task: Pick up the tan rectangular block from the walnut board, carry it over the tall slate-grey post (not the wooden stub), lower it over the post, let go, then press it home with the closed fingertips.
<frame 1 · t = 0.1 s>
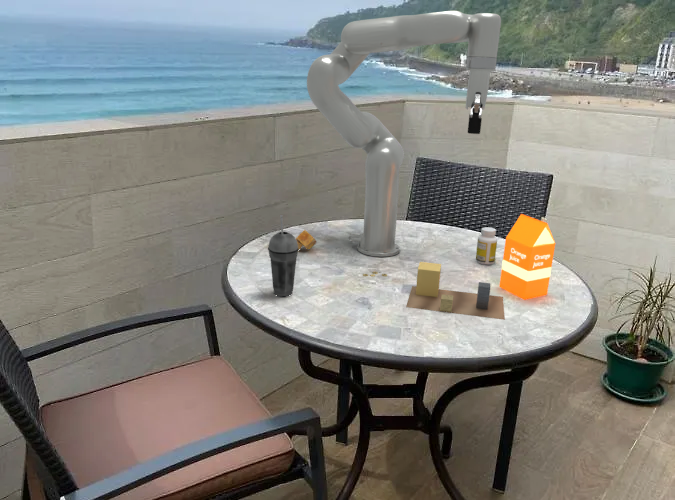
hand: (473, 131, 158), 37 cm above the table, tool pointing down, fingers open, 9 cm apart
orange juice: (522, 295, 147), on the table
wooden stub: (445, 309, 134), resting on board
beverage cup: (283, 294, 143), on the table
dice set: (375, 282, 153), on the table
board: (455, 306, 139), on the table
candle: (536, 270, 164), on the table
tan rectangular block: (427, 291, 144), point 1 cm above the table, touching board
supplement bottle: (484, 262, 169), on the table
post: (481, 306, 136), resting on board
pyrite: (304, 251, 173), on the table
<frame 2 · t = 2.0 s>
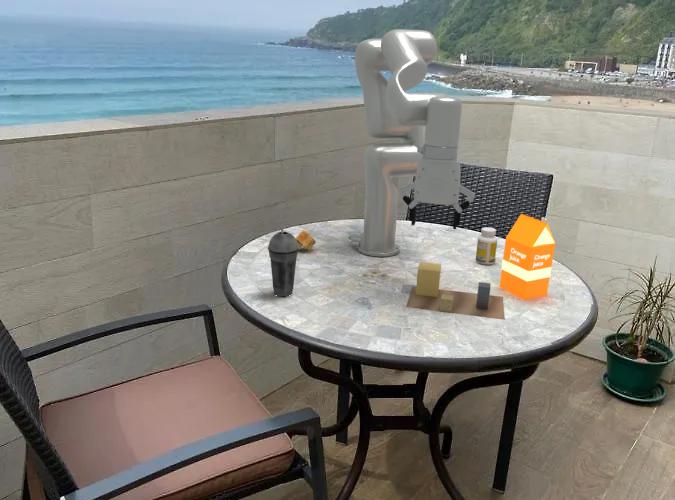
hand: (433, 225, 138), 18 cm above the table, tool pointing down, fingers open, 9 cm apart
nothing on the table moved.
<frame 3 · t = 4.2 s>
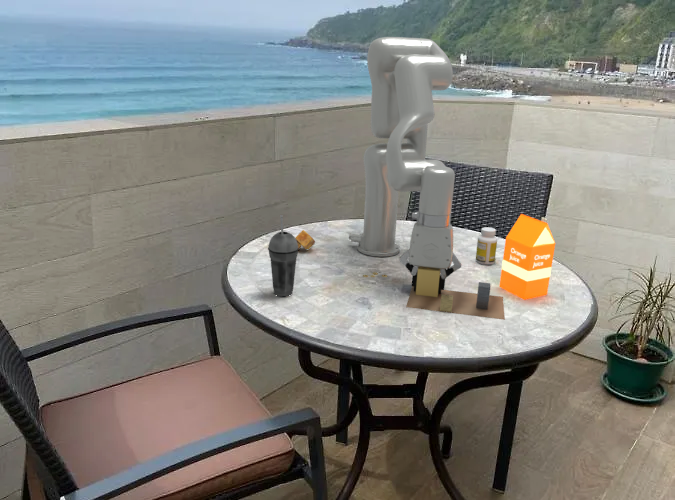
hand: (427, 289, 143), 2 cm above the table, tool pointing down, fingers closed on tan rectangular block, 5 cm apart
tan rectangular block: (427, 291, 144), point 1 cm above the table, touching board, gripper
everything else where it was.
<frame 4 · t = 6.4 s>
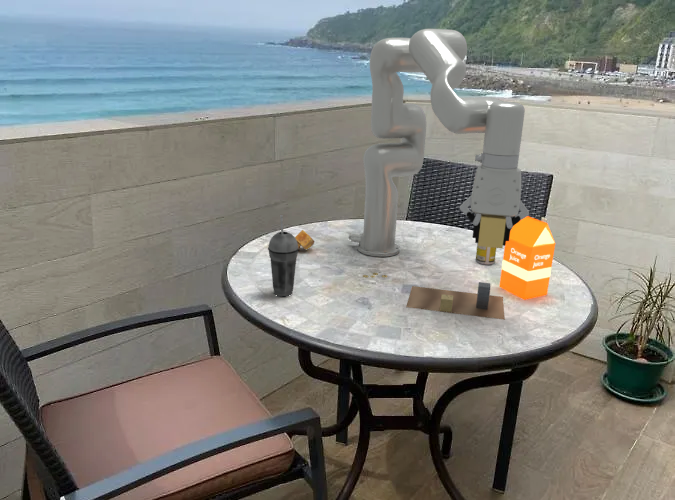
hand: (490, 241, 131), 17 cm above the table, tool pointing down, fingers closed on tan rectangular block, 5 cm apart
tan rectangular block: (489, 243, 131), point 17 cm above the table, touching gripper
everything else where it was.
when the fingers open (4 cm above the table, at t = 8.8 s): tan rectangular block drops 2 cm, resting on board.
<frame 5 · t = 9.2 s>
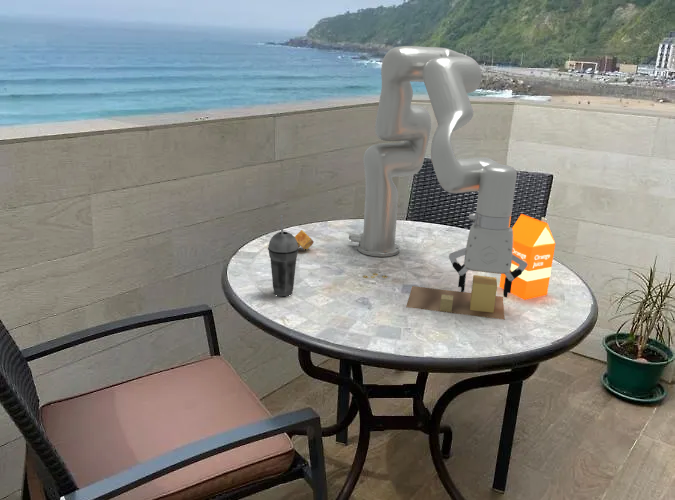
hand: (483, 292, 135), 5 cm above the table, tool pointing down, fingers open, 9 cm apart
tan rectangular block: (481, 306, 136), point 1 cm above the table, touching board
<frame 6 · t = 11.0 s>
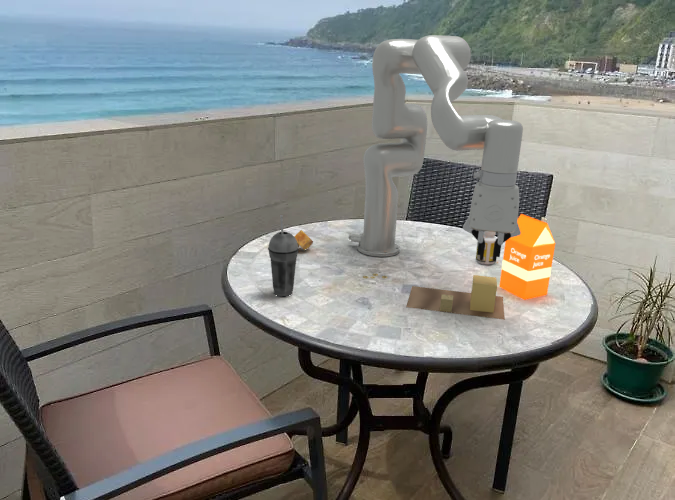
hand: (487, 258, 132), 13 cm above the table, tool pointing down, fingers closed
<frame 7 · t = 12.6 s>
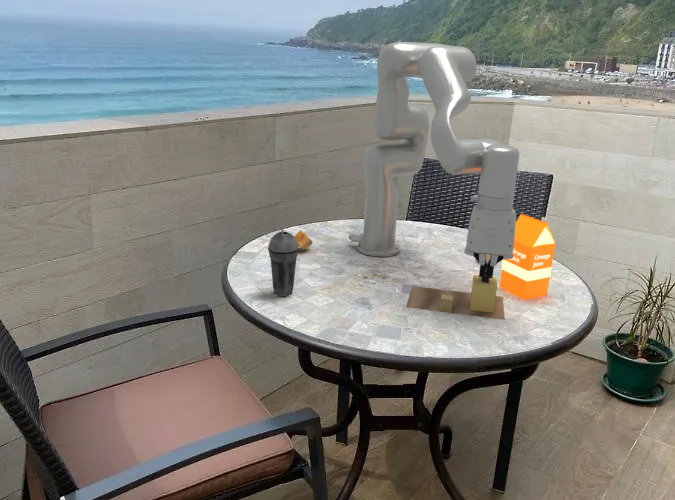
hand: (485, 280, 134), 8 cm above the table, tool pointing down, fingers closed
tan rectangular block: (481, 306, 136), point 1 cm above the table, touching board, gripper
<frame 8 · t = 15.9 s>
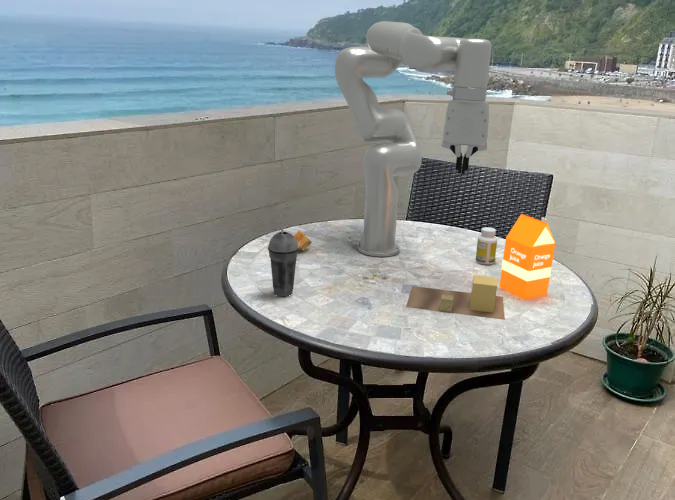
hand: (461, 172, 142), 29 cm above the table, tool pointing down, fingers closed
tan rectangular block: (481, 306, 136), point 1 cm above the table, touching board
at the end: tan rectangular block 0.0 cm from the post (horizontally); tan rectangular block point 1.2 cm above the table; tan rectangular block tilted 0° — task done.
